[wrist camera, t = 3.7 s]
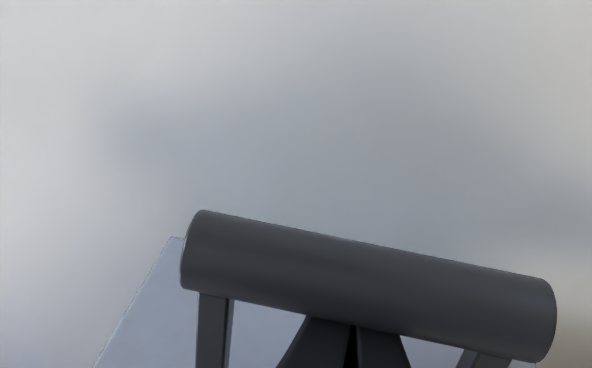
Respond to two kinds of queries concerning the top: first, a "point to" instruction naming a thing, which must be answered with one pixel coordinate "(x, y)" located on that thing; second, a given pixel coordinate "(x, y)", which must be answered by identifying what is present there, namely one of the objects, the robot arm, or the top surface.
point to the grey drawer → (322, 301)
